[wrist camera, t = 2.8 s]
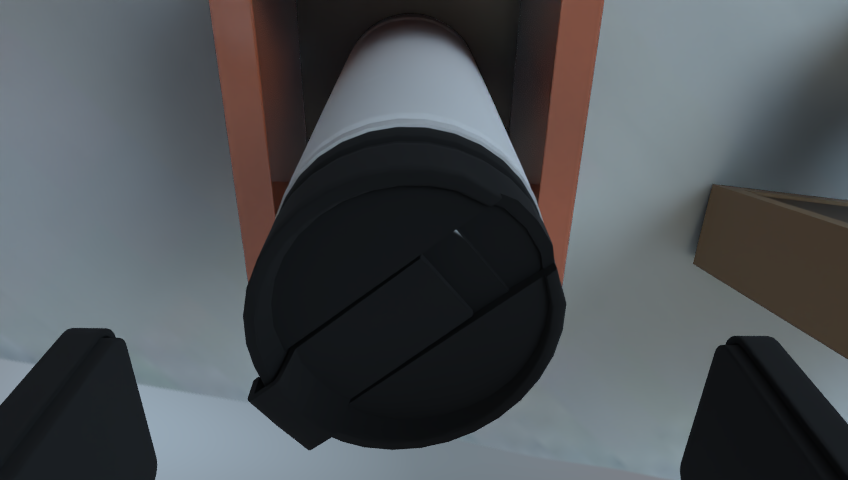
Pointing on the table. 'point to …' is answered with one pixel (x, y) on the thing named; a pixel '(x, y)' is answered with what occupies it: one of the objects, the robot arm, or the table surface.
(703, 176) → the table surface
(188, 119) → the table surface
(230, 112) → the holder
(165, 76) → the table surface
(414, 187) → the travel mug
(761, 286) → the photo frame
